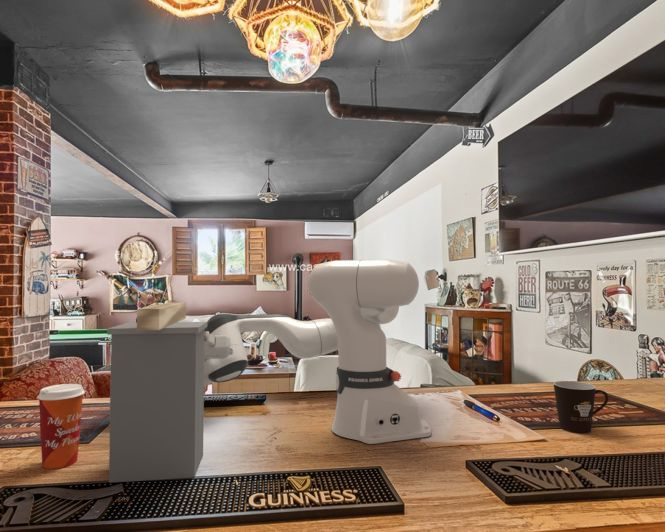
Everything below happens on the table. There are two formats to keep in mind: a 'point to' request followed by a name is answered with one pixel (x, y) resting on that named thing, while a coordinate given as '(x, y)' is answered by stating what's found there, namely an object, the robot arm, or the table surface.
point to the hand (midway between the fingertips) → (184, 334)
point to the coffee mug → (576, 405)
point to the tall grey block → (156, 402)
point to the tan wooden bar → (160, 315)
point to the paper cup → (60, 424)
